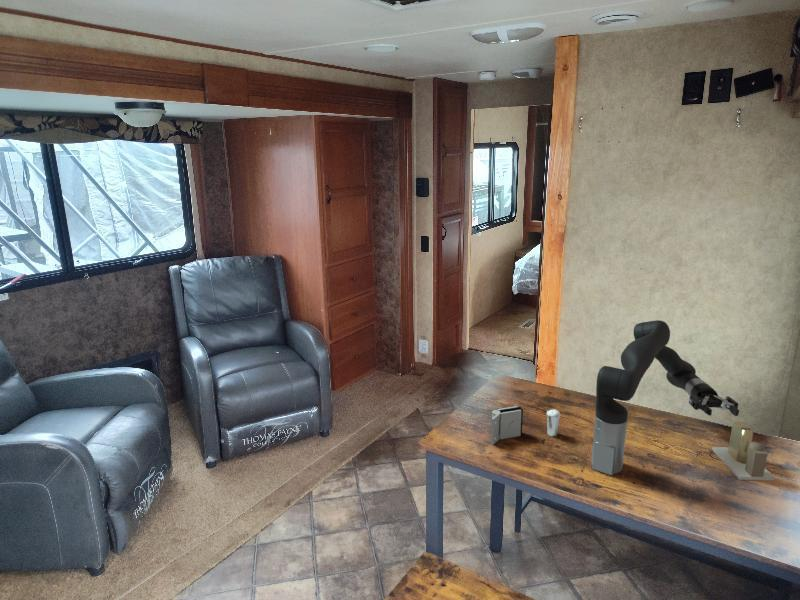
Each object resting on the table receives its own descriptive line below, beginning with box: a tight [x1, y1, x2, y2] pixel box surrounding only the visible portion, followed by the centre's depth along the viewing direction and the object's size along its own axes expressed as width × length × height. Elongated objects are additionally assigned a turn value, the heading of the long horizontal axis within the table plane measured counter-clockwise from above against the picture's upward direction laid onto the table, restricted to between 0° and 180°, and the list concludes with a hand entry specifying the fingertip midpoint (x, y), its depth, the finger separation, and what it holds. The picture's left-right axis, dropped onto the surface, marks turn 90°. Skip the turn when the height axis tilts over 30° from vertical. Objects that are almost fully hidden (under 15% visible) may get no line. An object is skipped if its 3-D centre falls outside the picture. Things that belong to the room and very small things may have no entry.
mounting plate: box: [712, 441, 776, 481], centre depth 167 cm, size 16×10×10 cm, turn 176°
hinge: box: [490, 405, 524, 446], centre depth 186 cm, size 14×5×10 cm, turn 118°
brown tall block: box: [728, 421, 754, 464], centre depth 168 cm, size 7×3×11 cm, turn 177°
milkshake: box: [544, 405, 561, 437], centre depth 187 cm, size 4×5×10 cm
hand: (723, 413), depth 178 cm, fingers open, 8 cm apart
